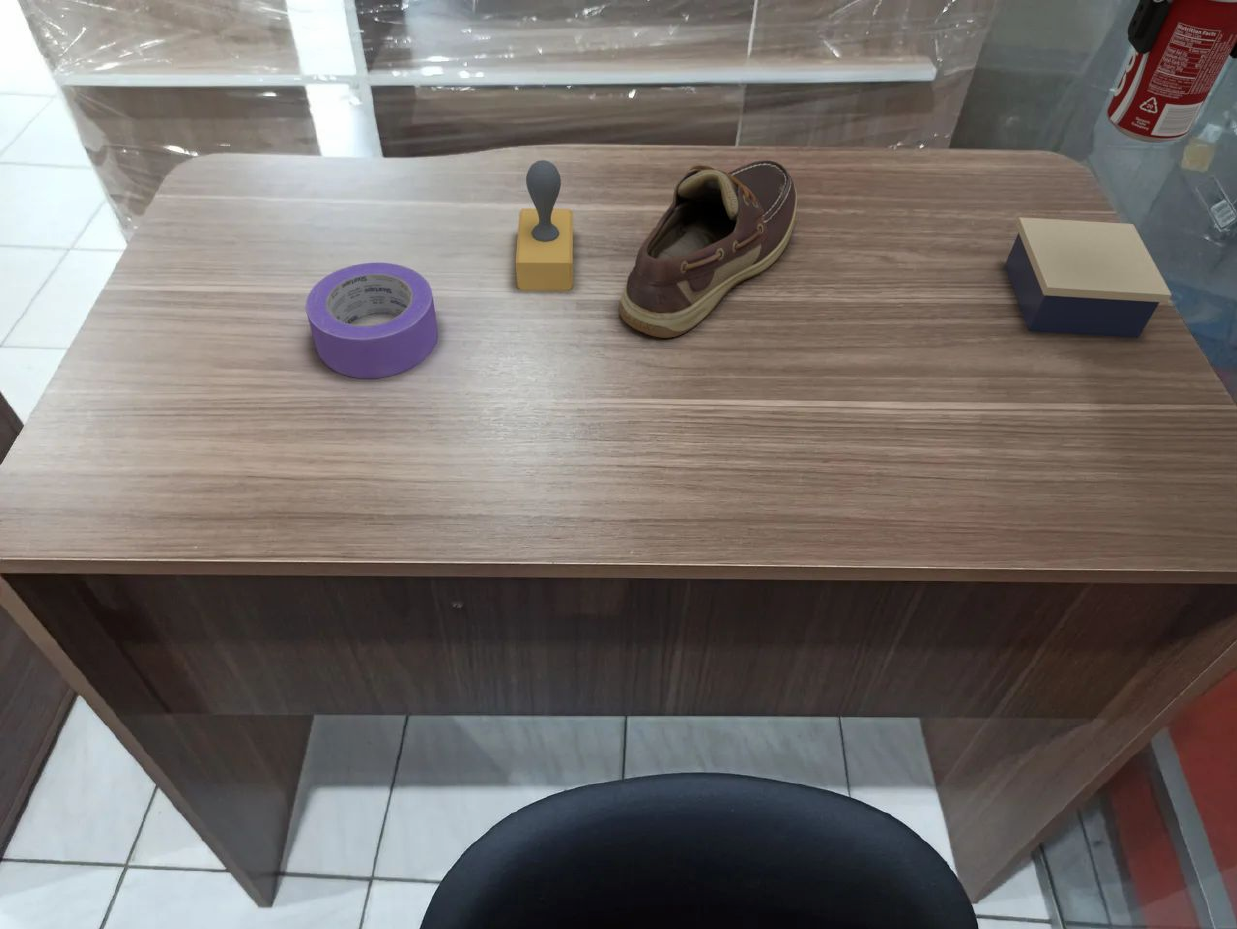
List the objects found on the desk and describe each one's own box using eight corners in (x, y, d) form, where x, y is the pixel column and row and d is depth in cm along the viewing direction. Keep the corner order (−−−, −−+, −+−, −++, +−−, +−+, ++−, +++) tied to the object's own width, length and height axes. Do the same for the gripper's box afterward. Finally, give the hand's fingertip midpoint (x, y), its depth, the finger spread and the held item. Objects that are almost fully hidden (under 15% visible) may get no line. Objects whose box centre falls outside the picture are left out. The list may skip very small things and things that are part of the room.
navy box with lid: (1108, 270, 100) (1133, 223, 95) (1143, 341, 92) (1172, 294, 87) (999, 263, 100) (1018, 216, 95) (1024, 334, 92) (1047, 287, 88)
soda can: (1197, 149, 77) (1278, 2, 68) (1118, 147, 77) (1189, -1, 68) (1166, 111, 82) (1238, -32, 73) (1092, 108, 81) (1154, -35, 72)
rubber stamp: (572, 291, 95) (571, 190, 86) (517, 291, 94) (510, 189, 85) (573, 236, 101) (571, 136, 92) (521, 235, 101) (515, 135, 92)
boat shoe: (741, 185, 109) (754, 98, 101) (822, 218, 105) (843, 129, 97) (588, 313, 92) (589, 221, 84) (678, 357, 88) (687, 265, 80)
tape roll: (411, 288, 94) (404, 248, 91) (457, 354, 88) (452, 313, 84) (300, 323, 90) (288, 283, 86) (340, 395, 84) (328, 355, 80)
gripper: (1205, -210, 58) (1089, 64, 72) (1477, -198, 58) (1310, 75, 71) (1164, -237, 63) (1064, 24, 77) (1415, -226, 63) (1270, 34, 76)
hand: (1183, 47), depth 74 cm, fingers closed on soda can, 6 cm apart
